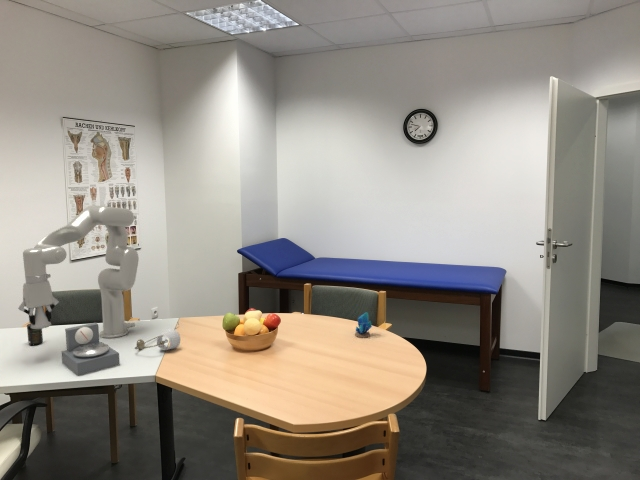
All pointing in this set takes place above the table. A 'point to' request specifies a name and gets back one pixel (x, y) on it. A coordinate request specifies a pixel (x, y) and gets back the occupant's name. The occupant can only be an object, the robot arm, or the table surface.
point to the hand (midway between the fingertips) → (40, 322)
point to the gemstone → (363, 326)
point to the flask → (40, 319)
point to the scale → (86, 364)
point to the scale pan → (91, 350)
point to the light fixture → (172, 336)
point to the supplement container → (34, 336)
